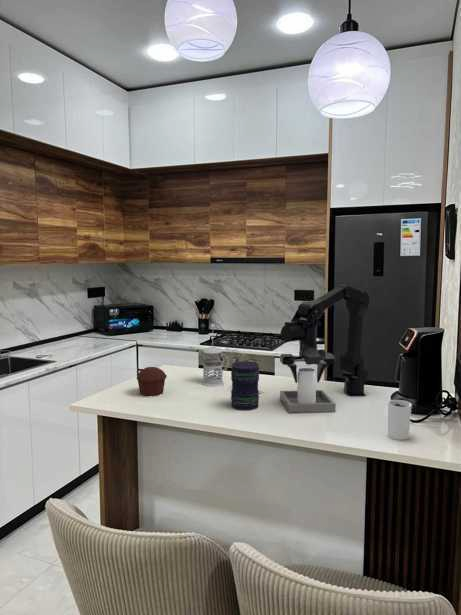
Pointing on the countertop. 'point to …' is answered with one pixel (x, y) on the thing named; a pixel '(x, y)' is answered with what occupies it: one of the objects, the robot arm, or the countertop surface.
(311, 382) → the can
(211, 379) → the french press
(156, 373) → the muffin
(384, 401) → the countertop surface
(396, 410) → the white cylindrical container
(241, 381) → the storage jar
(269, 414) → the countertop surface
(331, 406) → the tray
